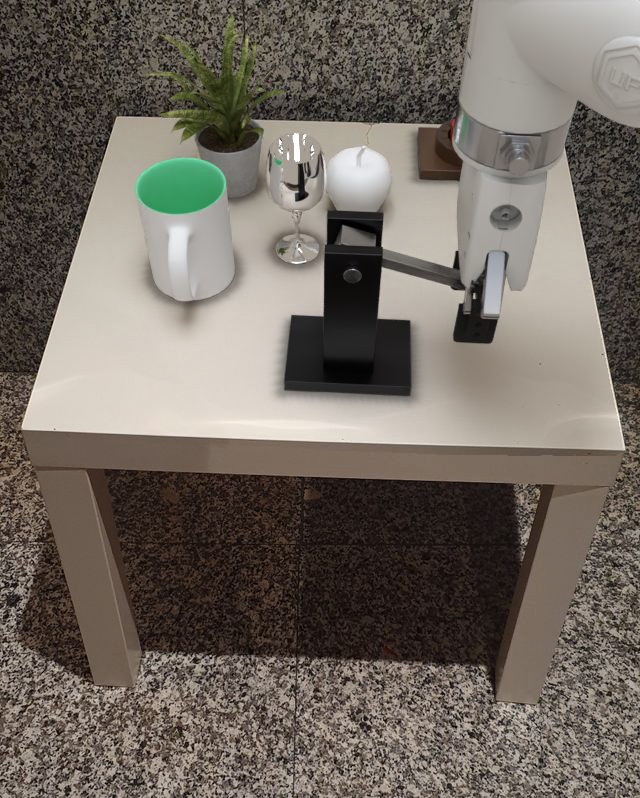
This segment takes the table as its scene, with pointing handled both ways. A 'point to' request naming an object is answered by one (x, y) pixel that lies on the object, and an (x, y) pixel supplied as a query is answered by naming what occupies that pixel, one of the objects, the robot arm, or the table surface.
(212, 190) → the mug
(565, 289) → the table surface
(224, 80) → the house plant
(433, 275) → the lever
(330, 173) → the plain white apple
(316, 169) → the wineglass
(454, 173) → the button block
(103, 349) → the table surface
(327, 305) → the bracket
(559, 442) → the table surface
